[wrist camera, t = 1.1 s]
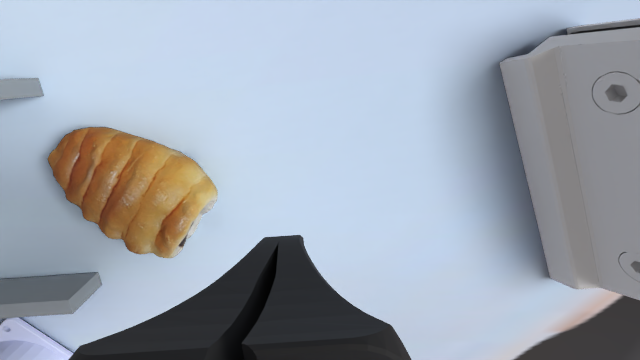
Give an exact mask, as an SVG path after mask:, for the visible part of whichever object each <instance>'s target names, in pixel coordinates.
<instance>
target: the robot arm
mask: <svg viewBox="0 0 640 360" xmlns="http://www.w3.org/2000/svg"><path fill="white" fill-rule="evenodd" d="M0 360H411V358H410V356H409V354H408V352H407V350H406V349H405V347H404V345H403V343H402V341H401V340H400V338H399V337H398V335H397V333H396V332H395V330H394V329H393V327H392V326H391V325H390V324H388V323H385V322H383V321H381V320H379V319H377V318H375V317H373V316H370V315H368V314H366V313H365V312H363V311H361V310H360V309H358V308H356V307H355V306H353V305H352V304H350V303H349V302H348V301H346V300H345V299H344V298H343V297H341V296H340V295H339V294H338V293H337V292H336V291H335V290H334V289H333V288H332V287H331V286H330V285H329V284H328V283H327V282H326V281H325V279H324V278H323V277H322V276H321V274H320V273H319V272H318V270H317V269H316V267H315V266H314V264H313V263H312V261H311V259H310V257H309V256H308V254H307V251H306V249H305V247H304V241H303V237H302V236H300V235H293V236H278V237H265V238H263V239H262V240H261V241H260V242H259V243H258V244H257V245H256V246H255V247H254V248H253V249H252V250H251V251H250V252H249V253H248V254H247V255H246V256H245V257H244V258H243V259H241V260H240V261H239V262H238V263H237V264H236V265H235V266H234V267H232V268H231V269H230V270H229V271H228V272H226V273H225V274H224V275H223V276H222V277H220V278H219V279H218V280H216V281H215V282H214V283H212V284H211V285H210V286H208V287H207V288H205V289H204V290H202V291H201V292H199V293H198V294H196V295H194V296H193V297H191V298H189V299H188V300H186V301H184V302H182V303H180V304H179V305H177V306H175V307H173V308H171V309H170V310H168V311H166V312H164V313H162V314H160V315H158V316H156V317H154V318H151V319H149V320H147V321H145V322H143V323H140V324H138V325H136V326H133V327H131V328H128V329H126V330H124V331H121V332H118V333H115V334H113V335H110V336H107V337H104V338H102V339H99V340H96V341H93V342H91V343H88V344H85V345H81V346H80V347H79V348H78V349H77V350H76V351H75V352H74V354H73V353H72V352H70V351H69V350H67V349H66V348H64V347H63V346H61V345H60V344H58V343H57V342H55V341H54V340H52V339H51V338H49V337H48V336H46V335H45V334H43V333H42V332H40V331H38V330H37V329H35V328H34V327H32V326H31V325H29V324H28V323H26V322H25V321H23V320H22V319H20V318H19V317H16V318H7V319H6V320H4V321H3V323H2V324H1V325H0Z"/></svg>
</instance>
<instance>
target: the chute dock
mask: <svg viewBox="0 0 640 360" xmlns="http://www.w3.org/2000/svg"><path fill="white" fill-rule="evenodd" d="M38 96H44V95H43V92H42V88H41V85H40V82H39V79H38V78H29V79H0V100H3V99H15V98H26V97H38ZM101 285H102V284H101V280H100V277H99V274H98V272H97V273H83V274H68V275H54V276H39V277H24V278H10V279H0V319H1V318H16V317H30V316H45V315H60V314H73V313H74V312H75V311H76V310H77V309H78V308H79V307H80V306H81V305H82V304H83V303H84V302H85V301H86V300H87V299H88V298H89V297H90V296H91V295H92V294H93V293H94V292H95V291H96V290H97V289H98V288H99V287H100V286H101Z"/></svg>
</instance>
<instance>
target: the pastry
mask: <svg viewBox="0 0 640 360" xmlns="http://www.w3.org/2000/svg"><path fill="white" fill-rule="evenodd" d="M48 161H49V164H50V166H51V168H52V170H53V175H54V177H55V178H56V180H57V182H58V183H59V184H60V186H61V187H62V188H63V189H64V191H65V194H66V198H67V200H68V201H70V202H71V203H74V204H76V205H78V206H79V207H80V208H81V210H82V213H83V217H84V218H85V219H86V220H88V221H91V222H95V223H96V224H98V226H99V228H100V229H101V231H102V232H103V233H104V234H105V235H106V236H107V237H108V238H112V239H122V240H124V242H125V244H126V247H127V249H128V250H129V251H131V252H134V253H136V254H147V253H154V254H156V255H157V256H159V257H163V258H173V257H175V256H176V255H178V254H179V253H180V251H181V250H182V249H183V246H184V244H185V242H186V239H187V238H189V237H190V236H191V235H192V234H193V233H194V232H195V230H196V229H197V226H198V224H199V222H200V220H201V218H202V215H203V214H204V213H207V212H208V211H210V210H211V209H212V208H213V205H214V204H215V202H216V201H217V189H216V187H215V185H214V184H213V182H212V180H211V179H210V178H209V177H208V176H207V174H206V173H205V172H204V171H203V170H202V168H201V167H200V166H199V165H198V164H197V163H196V162H195V161H194V160H192V159H191V158H189V157H187V156H186V155H184V154H182V153H181V152H179V151H176V150H173V149H170V148H168V147H166V146H164V145H161V144H158V143H156V142H154V141H151V140H147V139H144V138H141V137H138V136H134V135H131V134H128V133H124V132H121V131H118V130H115V129H111V128H106V127H89V128H84V129H78V130H74V131H72V132H71V133H69V134H67V135H65V136H64V138H63V139H62V140H61V141H60V143H59V144H58V146H57V147H56V149H55V150H53V151H52V152H51V153H50V155H49V157H48Z"/></svg>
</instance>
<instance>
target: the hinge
mask: <svg viewBox="0 0 640 360" xmlns="http://www.w3.org/2000/svg"><path fill="white" fill-rule="evenodd" d="M499 64H500V68H501V73H502V77H503V81H504V85H505V89H506V94H507V98H508V102H509V106H510V110H511V115H512V119H513V123H514V127H515V132H516V136H517V140H518V144H519V148H520V153H521V157H522V161H523V165H524V169H525V174H526V178H527V182H528V186H529V191H530V195H531V199H532V203H533V207H534V212H535V216H536V220H537V224H538V228H539V233H540V237H541V241H542V245H543V250H544V254H545V258H546V262H547V266H548V271H549V275H550V278H551V279H553V280H555V281H558V282H560V283H562V284H564V285H567V286H569V287H571V288H574V289H591V288H603V289H607V290H610V291H613V292H616V293H619V294H622V295H625V296H628V297H632V298H635V299H638V300H640V18H638V19H630V20H622V21H614V22H606V23H598V24H590V25H582V26H576V27H571V28H567V35H561V36H551V37H549V38H548V39H546V40H545V41H544V42H543V43H541V44H540V45H539V46H538V47H536V48H535V49H534V50H533V51H531V52H530V53H529V54H526V55H521V56H516V57H511V58H507V59H505V60H503V61H502V62H500V63H499Z"/></svg>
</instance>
